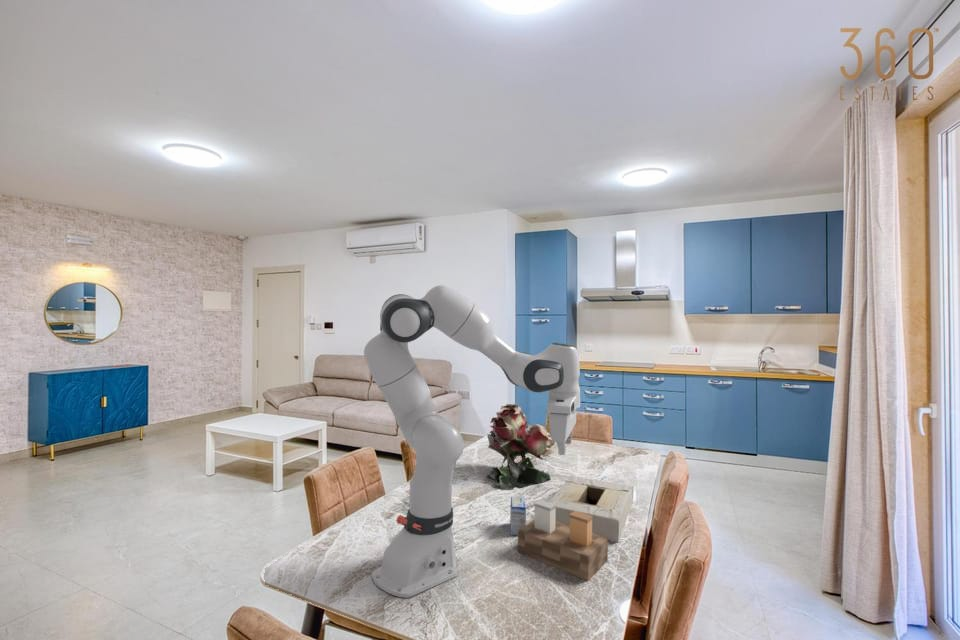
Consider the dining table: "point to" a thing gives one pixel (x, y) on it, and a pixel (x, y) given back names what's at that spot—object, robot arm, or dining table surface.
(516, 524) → the medicine box
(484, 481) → the dining table surface
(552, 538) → the block
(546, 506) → the cream plug
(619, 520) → the pale hollow square block
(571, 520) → the orange plug
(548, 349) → the robot arm
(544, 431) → the rose bouquet
